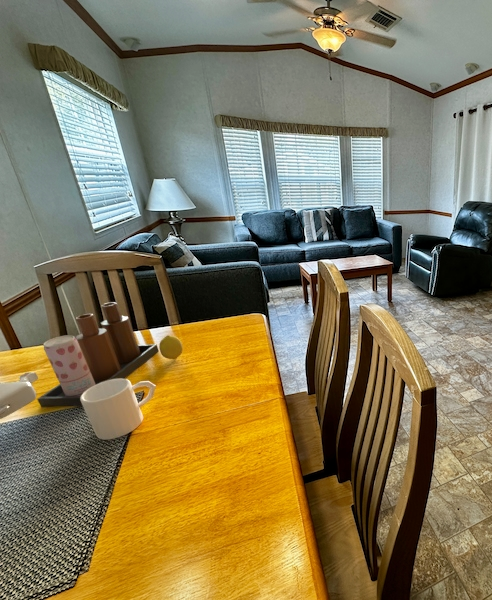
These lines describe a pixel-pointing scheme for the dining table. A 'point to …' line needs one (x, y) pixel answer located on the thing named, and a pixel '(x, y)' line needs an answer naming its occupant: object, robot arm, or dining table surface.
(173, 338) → the lemon
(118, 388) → the mug
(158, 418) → the dining table surface
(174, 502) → the dining table surface
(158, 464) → the dining table surface
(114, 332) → the bottle back
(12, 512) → the dining table surface
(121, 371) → the tray
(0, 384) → the robot arm
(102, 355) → the bottle middle
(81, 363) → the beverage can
